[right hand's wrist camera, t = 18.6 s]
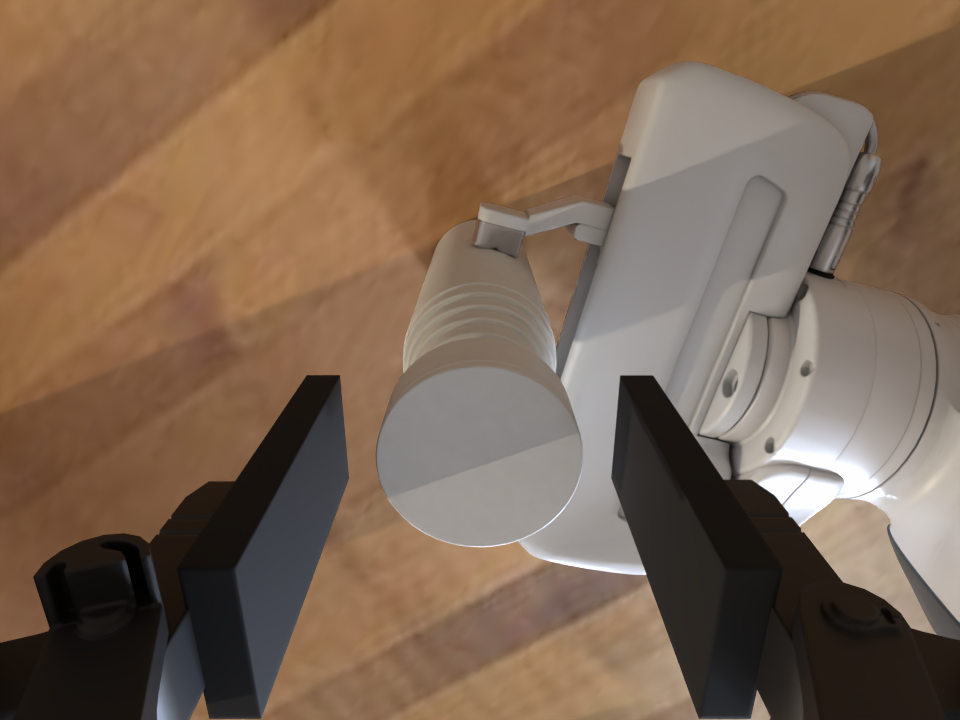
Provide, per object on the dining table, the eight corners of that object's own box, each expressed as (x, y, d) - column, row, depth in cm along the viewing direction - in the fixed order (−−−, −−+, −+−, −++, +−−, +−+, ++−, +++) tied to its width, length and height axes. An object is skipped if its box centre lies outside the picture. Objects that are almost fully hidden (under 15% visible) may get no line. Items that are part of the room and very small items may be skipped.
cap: (405, 318, 14) (395, 345, 12) (594, 359, 14) (609, 390, 13) (373, 484, 15) (360, 527, 14) (545, 517, 16) (552, 563, 14)
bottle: (477, 331, 32) (474, 570, 15) (412, 265, 30) (329, 444, 14) (547, 270, 30) (629, 453, 14) (482, 198, 29) (485, 304, 13)
